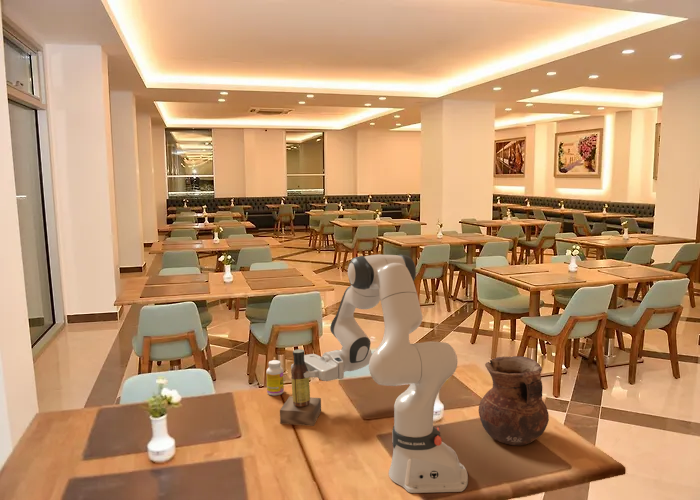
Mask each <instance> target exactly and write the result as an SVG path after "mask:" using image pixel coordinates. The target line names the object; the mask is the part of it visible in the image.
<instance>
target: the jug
mask: <svg viewBox="0 0 700 500" xmlns="http://www.w3.org/2000/svg"><path fill="white" fill-rule="evenodd" d="M489 361H490V362H489ZM489 361H488V362H487V361H486V362H485V363H484V365H485V367H486V370H487V371H488V372H489V374H490V376H491V379H492V388H491V389H489V390H488V391H487V392H486V393H485V395H484V396H482V398H481V400H480V403H479V405H478V415H479V420H480V422H481V424H482V428H483V429H484V431H485V432H486V433H487V434H488V435H489V436H490V437H491V438H492V439H493V440H495V441H498V442H500V443H502V444H506V445H508V446H518V447H519V446H526V445H529V444H531V443H532V442H534V441H535V440H537V439H538V438H539V437H540V436H541V435H543V433H544V432H545V430H546V429H547V426H548V424H549V422H550V421H549V420H550V417H549V411H548V408H547V405H546V404H545V402H544V400H543V382H542V375H541V373H542V371H543V368H542V365H541V366H540V364H539V363H538V362H537V361H536V360H534V359H532V358H530V357H526V356H522V355H514V356H499V357H495V358H493V359H490V360H489Z"/></svg>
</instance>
